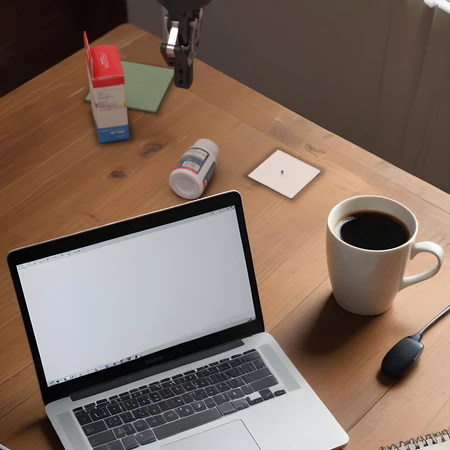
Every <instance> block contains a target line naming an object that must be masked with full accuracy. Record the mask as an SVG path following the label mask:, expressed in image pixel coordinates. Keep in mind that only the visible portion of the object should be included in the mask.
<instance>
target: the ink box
mask: <svg viewBox="0 0 450 450" xmlns="http://www.w3.org/2000/svg"><path fill="white" fill-rule="evenodd" d="M83 42H84V43H83V44H84V52H85V61H86V69H87V78H88V87H89V92H90V96H91V102H90V103H91V112H92V116H93V120H94V124H95V129H96V133H97V137H98V141H99V143H100V144H105V143H111V142H118V141H119V142H120V141H125V140H130V138H131V137H130V129H129V117H128V108H127V105H126V93H125V81H124V72H123V69H122V65H121V61H122V60H121V58H120V55H119V50H118V48H117V45H116V44H102V45H95V46H90V45H89V41H88V37H87V33H86V31H83Z"/></svg>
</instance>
